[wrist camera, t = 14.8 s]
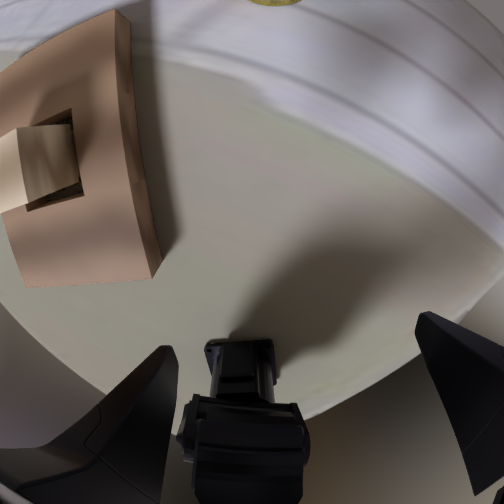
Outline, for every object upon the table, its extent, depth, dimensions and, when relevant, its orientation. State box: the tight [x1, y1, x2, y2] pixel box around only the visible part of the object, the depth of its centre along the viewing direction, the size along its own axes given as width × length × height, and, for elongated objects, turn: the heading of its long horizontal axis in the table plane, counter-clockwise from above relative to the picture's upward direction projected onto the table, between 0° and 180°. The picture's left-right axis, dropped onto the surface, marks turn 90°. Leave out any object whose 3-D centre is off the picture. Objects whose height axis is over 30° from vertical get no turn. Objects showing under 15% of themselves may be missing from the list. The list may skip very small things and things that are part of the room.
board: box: [0, 9, 163, 288], centre depth 17 cm, size 20×14×3 cm
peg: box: [0, 124, 81, 213], centre depth 15 cm, size 4×4×8 cm
